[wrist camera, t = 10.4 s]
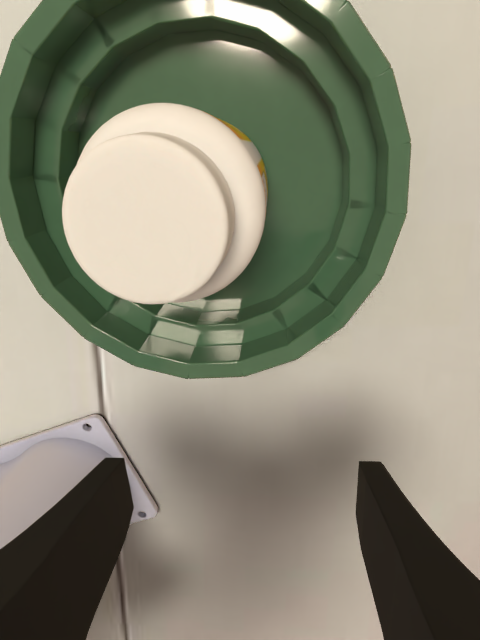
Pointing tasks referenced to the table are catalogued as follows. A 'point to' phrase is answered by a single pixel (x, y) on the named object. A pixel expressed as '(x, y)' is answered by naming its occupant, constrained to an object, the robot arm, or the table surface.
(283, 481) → the table surface
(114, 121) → the supplement bottle
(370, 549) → the robot arm
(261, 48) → the bowl
